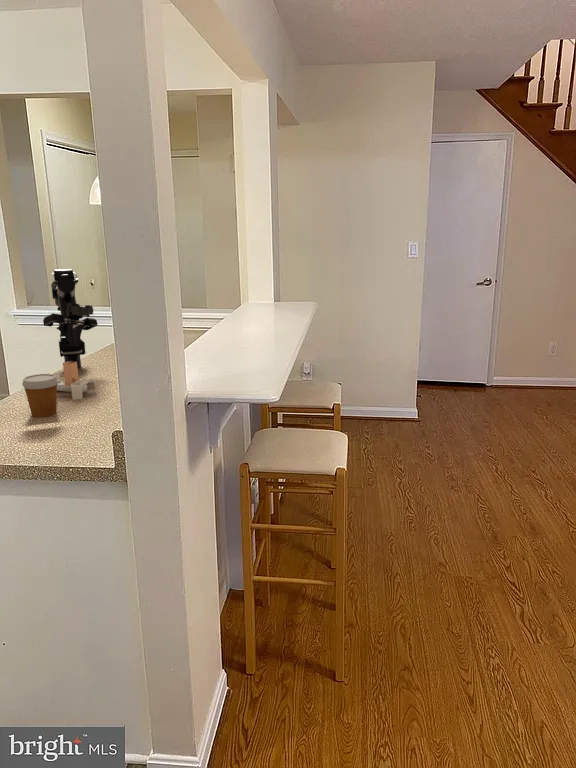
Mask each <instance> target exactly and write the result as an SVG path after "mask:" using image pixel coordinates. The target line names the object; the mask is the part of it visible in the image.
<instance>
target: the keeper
mask: <svg viewBox="0 0 576 768" xmlns="http://www.w3.org/2000/svg"><path fill="white" fill-rule="evenodd" d="M88 379H89V378H79V380H78V381H76V382H75V383H71V391H72V399H73V400H72V401H77V400H76V399H79V400H84V399H83V396H82V386H84V385H85V384H87V383H88Z"/></svg>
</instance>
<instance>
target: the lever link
mask: <svg viewBox="0 0 576 768" xmlns="http://www.w3.org/2000/svg"><path fill="white" fill-rule="evenodd" d="M62 368H63V376H64V377H63V378H64V381H60V380H58V383H57V391H65V392H72V391H71V383H75V382H76V381H78V380H79V379H80V378H79V369H78V368H77V361H67V362H65V361H64V362H62ZM86 391H87V385H84V386H82V393H83V392H86Z"/></svg>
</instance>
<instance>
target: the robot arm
mask: <svg viewBox="0 0 576 768" xmlns="http://www.w3.org/2000/svg"><path fill="white" fill-rule="evenodd" d="M51 276H52V283H51V295H52V300H54V303H55V305H56V306H57V311H59V313H54V312H53V313H50V314H48V315H47V316H45V317H44V318H43V320H42V323H43V326H44V327H52V326H53V325H54V324H58V326H57V327H56V330H58V331H59V332H60V333H59V339H60V340H58V347H59V348H58V349H59V355H60V357H63V358H64V359H63V361H64V362H67V361H77V368H78V370H79V369H82V368H83V366H82V361H81V356H82V355H83V356H84V355H86V343H85V341H84V340H83V338H81V336H82V332H83V331H89V330H91V329H93V328H95V327H97V326H98V320H97V319H95V318H93V317H90V315H91V316H92V315H94V307H93V305H89V304H88V305H87V304H85V306H81V305H80V303H77V300H76V285H78V283H79V278H78V275H77V273H76V271H74V270H73V269H72V268H63V269H58V268H57V269H53V272H51ZM84 317H86V318H84ZM83 318H84V319H83Z"/></svg>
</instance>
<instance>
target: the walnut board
mask: <svg viewBox="0 0 576 768" xmlns="http://www.w3.org/2000/svg"><path fill="white" fill-rule="evenodd" d="M87 379H88V383H87V384H85V385H87V391H86V392H83V393H82V396H83V399H82V400H86V399H94V398H95V399H97V398H98V394H97V391H96V386H95V383H94V381H93V378H87ZM77 400H78V401H79V400H80V399H76V400H75V401H77ZM67 401H68V402H69V401H74V400H73V399H72V392H65V391H60V392H57V403H60V402H67Z"/></svg>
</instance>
